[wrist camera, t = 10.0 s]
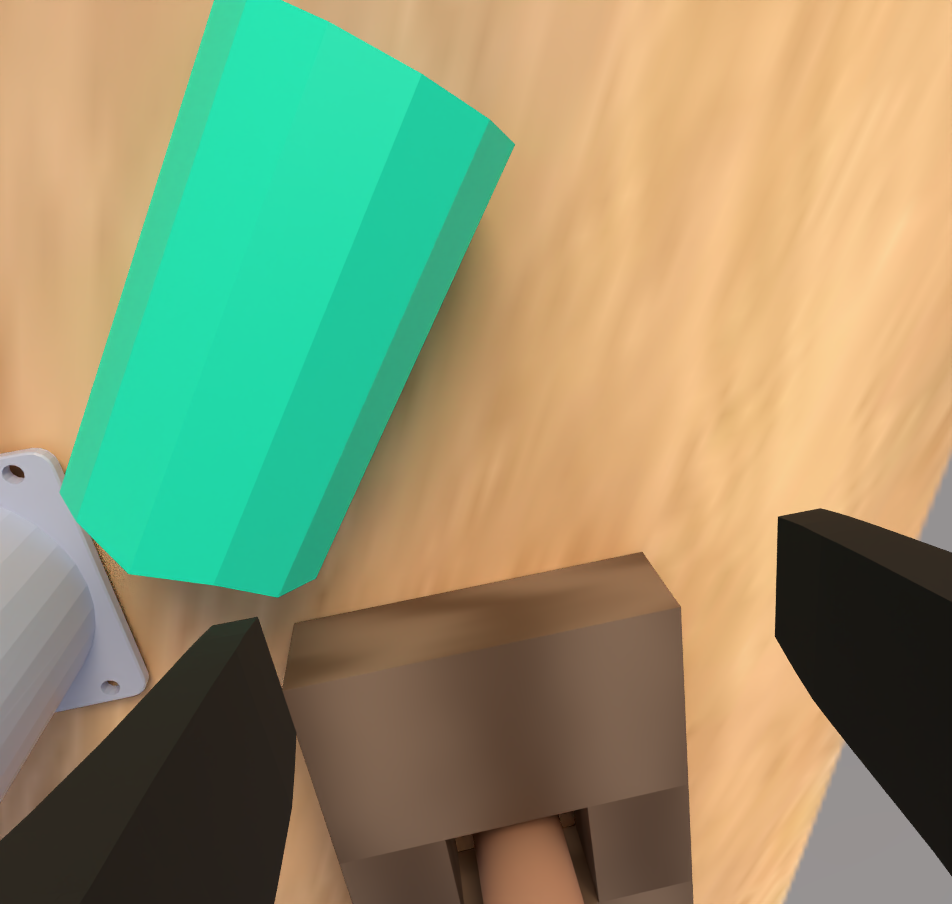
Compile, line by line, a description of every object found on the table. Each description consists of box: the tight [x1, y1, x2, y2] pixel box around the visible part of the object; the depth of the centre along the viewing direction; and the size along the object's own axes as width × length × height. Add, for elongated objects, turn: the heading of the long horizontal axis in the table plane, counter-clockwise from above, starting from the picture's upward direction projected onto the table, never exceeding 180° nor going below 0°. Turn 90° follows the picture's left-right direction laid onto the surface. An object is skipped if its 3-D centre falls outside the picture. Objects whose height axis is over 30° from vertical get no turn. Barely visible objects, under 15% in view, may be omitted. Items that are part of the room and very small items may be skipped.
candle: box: [59, 0, 515, 597], centre depth 15 cm, size 6×6×12 cm
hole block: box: [282, 552, 693, 904], centre depth 24 cm, size 11×18×3 cm, turn 9°
